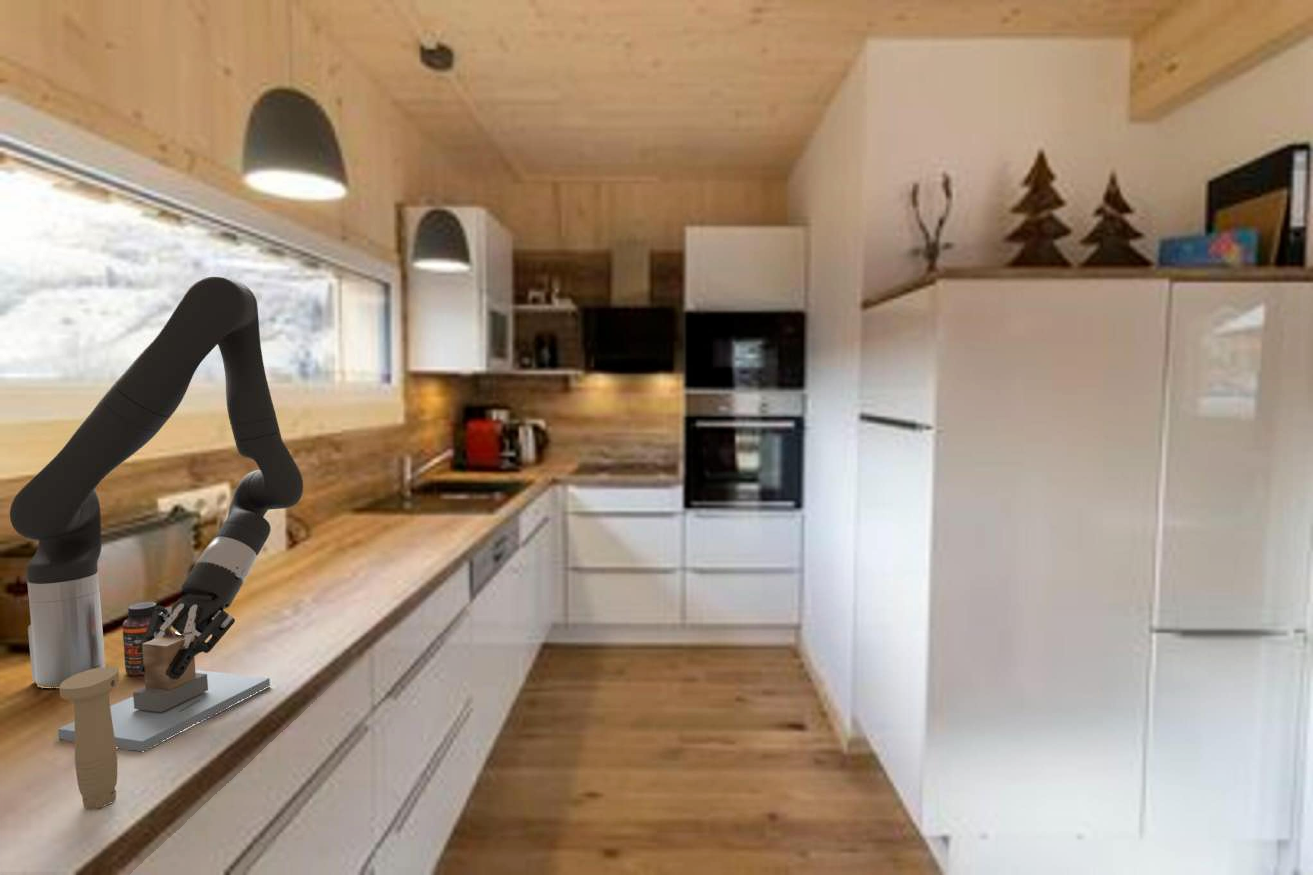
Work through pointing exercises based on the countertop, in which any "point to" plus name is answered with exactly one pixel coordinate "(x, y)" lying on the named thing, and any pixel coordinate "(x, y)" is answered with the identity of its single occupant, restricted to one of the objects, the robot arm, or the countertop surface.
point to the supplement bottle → (136, 635)
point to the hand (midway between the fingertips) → (158, 674)
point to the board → (175, 712)
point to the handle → (94, 734)
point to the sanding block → (158, 685)
